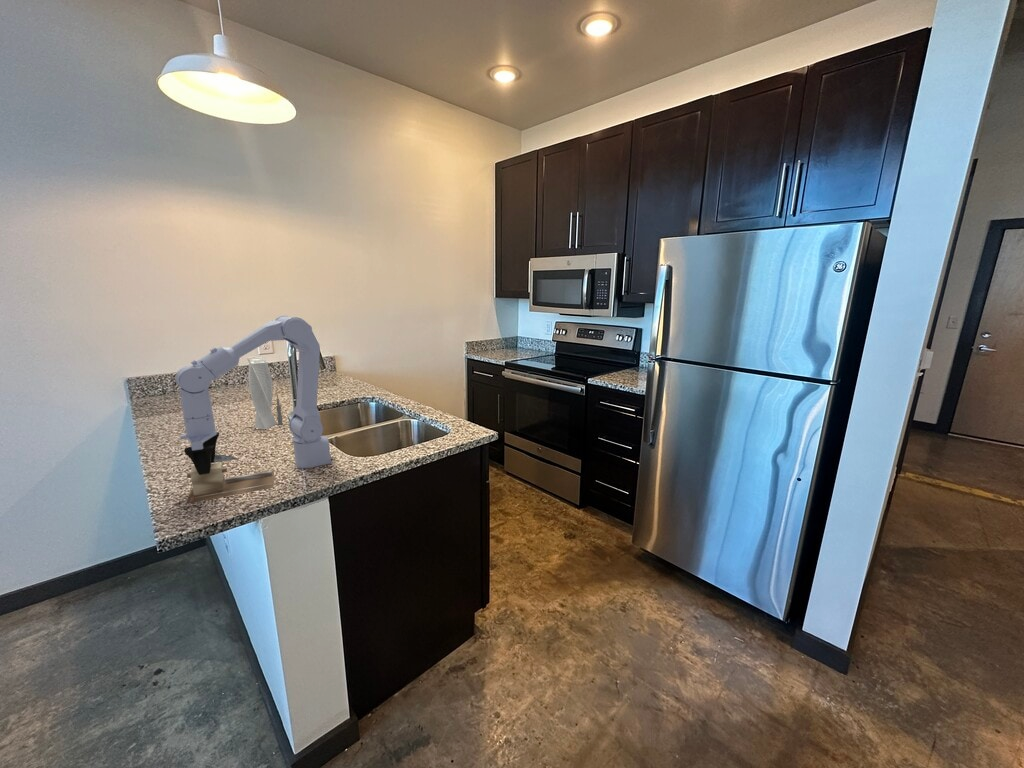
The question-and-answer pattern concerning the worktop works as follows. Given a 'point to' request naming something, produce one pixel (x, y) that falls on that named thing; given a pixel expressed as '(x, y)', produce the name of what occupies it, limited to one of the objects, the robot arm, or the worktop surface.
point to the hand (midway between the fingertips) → (206, 467)
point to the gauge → (208, 479)
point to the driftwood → (223, 458)
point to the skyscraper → (262, 394)
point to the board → (238, 486)
